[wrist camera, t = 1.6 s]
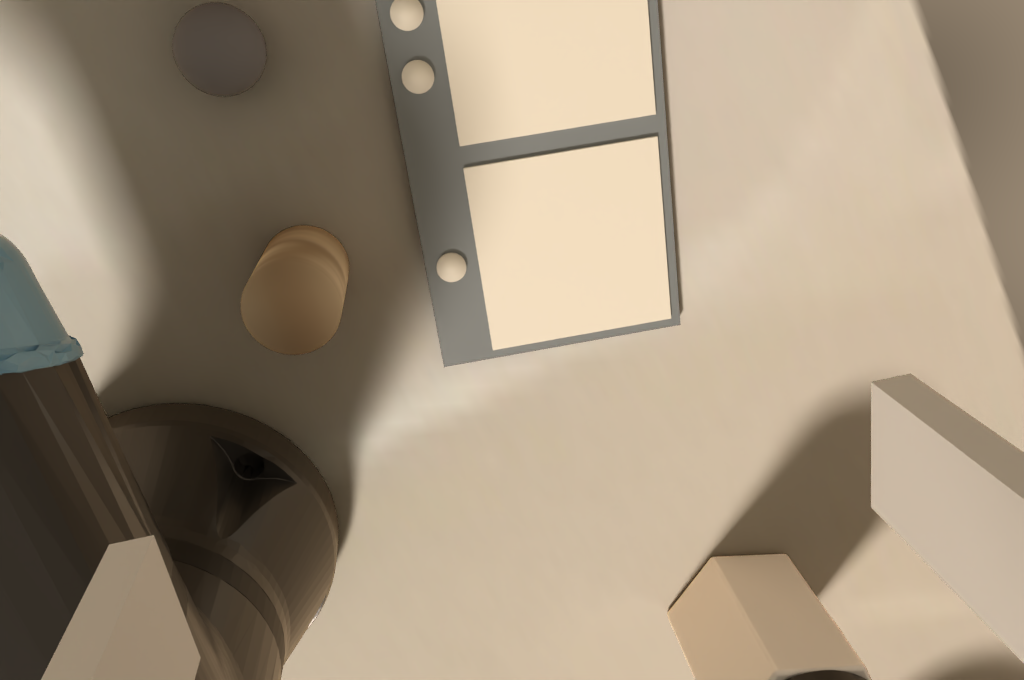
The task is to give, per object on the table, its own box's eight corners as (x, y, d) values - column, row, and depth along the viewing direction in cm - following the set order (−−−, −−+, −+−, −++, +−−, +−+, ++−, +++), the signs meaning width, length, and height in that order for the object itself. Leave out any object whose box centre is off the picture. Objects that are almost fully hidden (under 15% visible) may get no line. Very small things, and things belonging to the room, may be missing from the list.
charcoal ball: (197, 98, 37) (177, 107, 34) (173, 9, 36) (150, 10, 32) (280, 84, 37) (269, 93, 34) (260, -4, 36) (246, -5, 33)
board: (443, 362, 43) (444, 368, 42) (304, -378, 32) (302, -387, 31) (676, 320, 44) (681, 326, 43) (623, -418, 32) (628, -428, 32)
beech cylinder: (274, 313, 41) (254, 362, 35) (252, 233, 39) (228, 270, 34) (357, 299, 41) (350, 345, 36) (339, 218, 40) (329, 253, 34)
